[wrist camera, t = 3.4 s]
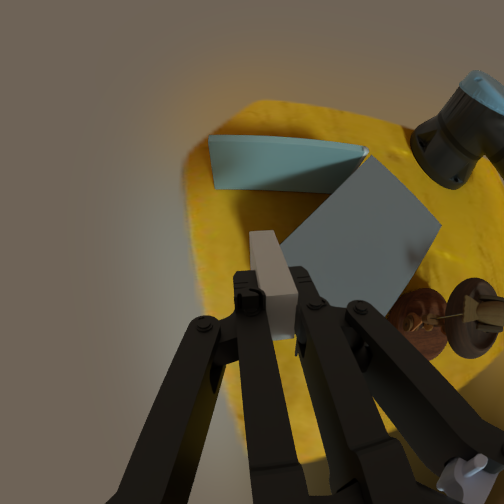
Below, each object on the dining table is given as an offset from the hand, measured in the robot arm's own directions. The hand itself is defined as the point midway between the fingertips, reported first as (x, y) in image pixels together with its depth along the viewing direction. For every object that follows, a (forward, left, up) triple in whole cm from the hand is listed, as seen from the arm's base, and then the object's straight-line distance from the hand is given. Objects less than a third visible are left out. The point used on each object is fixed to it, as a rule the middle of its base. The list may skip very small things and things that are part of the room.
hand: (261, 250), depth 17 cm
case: (-10, +6, -18) cm, 21 cm away
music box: (-14, +22, -18) cm, 31 cm away
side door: (-14, -8, -17) cm, 24 cm away
